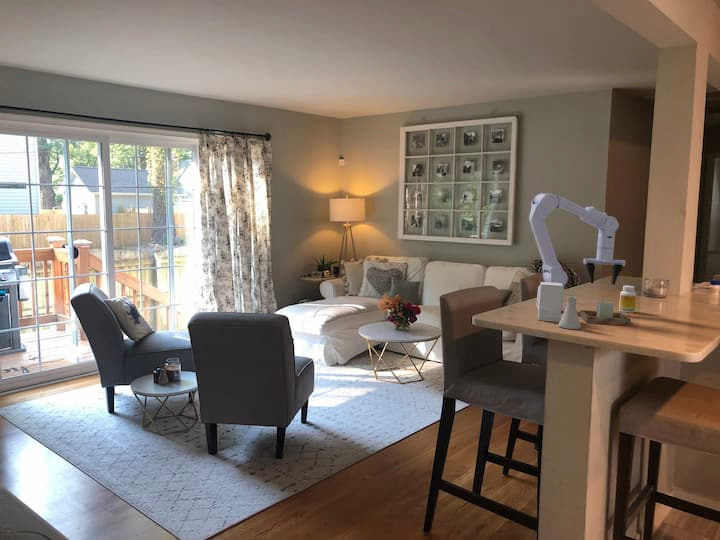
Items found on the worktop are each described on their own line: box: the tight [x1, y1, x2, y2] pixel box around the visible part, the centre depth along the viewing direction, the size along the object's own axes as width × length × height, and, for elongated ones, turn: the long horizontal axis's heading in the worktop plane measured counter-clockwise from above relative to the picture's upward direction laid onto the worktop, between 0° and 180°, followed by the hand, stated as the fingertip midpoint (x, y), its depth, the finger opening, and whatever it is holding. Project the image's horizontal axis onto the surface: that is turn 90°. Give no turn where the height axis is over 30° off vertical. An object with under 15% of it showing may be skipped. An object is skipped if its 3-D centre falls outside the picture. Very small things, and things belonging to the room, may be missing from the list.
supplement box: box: [537, 281, 563, 323], centre depth 196 cm, size 7×7×13 cm
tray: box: [579, 309, 632, 327], centre depth 197 cm, size 14×12×2 cm
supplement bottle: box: [618, 285, 637, 313], centre depth 216 cm, size 5×5×10 cm
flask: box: [558, 295, 582, 330], centre depth 185 cm, size 7×7×10 cm
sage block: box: [596, 300, 615, 318], centre depth 197 cm, size 4×4×6 cm
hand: (602, 283), depth 215 cm, fingers open, 7 cm apart
